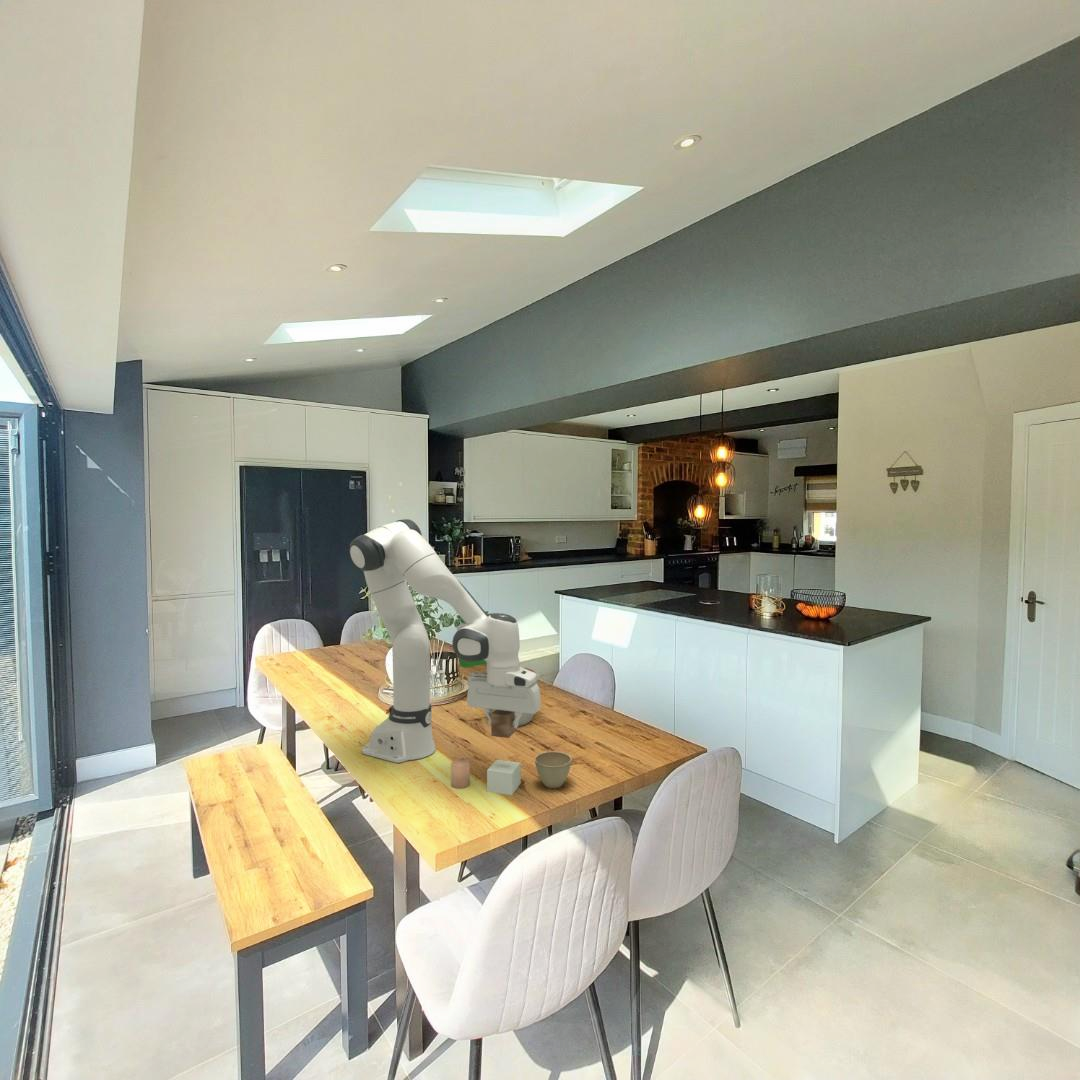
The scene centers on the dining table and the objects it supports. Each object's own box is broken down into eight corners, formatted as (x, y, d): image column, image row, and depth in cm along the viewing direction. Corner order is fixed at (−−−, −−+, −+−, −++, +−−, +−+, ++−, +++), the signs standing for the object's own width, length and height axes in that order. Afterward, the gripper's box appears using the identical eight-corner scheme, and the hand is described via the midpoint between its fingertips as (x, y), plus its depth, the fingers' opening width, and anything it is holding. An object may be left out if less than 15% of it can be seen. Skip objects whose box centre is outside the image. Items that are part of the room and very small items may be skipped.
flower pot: (540, 774, 170) (540, 749, 170) (575, 778, 167) (575, 753, 167) (530, 789, 161) (530, 763, 160) (566, 795, 158) (566, 768, 157)
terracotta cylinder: (448, 787, 162) (447, 765, 162) (456, 779, 167) (456, 758, 166) (464, 790, 161) (464, 768, 160) (472, 781, 165) (472, 760, 165)
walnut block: (491, 735, 159) (491, 713, 159) (498, 729, 164) (498, 707, 164) (508, 738, 158) (508, 715, 158) (515, 731, 163) (515, 709, 162)
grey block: (487, 792, 160) (487, 770, 159) (496, 780, 166) (496, 759, 166) (511, 795, 158) (511, 773, 157) (520, 784, 164) (520, 762, 164)
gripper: (462, 674, 160) (463, 725, 161) (535, 681, 154) (535, 734, 155) (472, 668, 166) (472, 717, 167) (542, 674, 160) (542, 725, 161)
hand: (503, 725), depth 161 cm, fingers closed on walnut block, 5 cm apart
